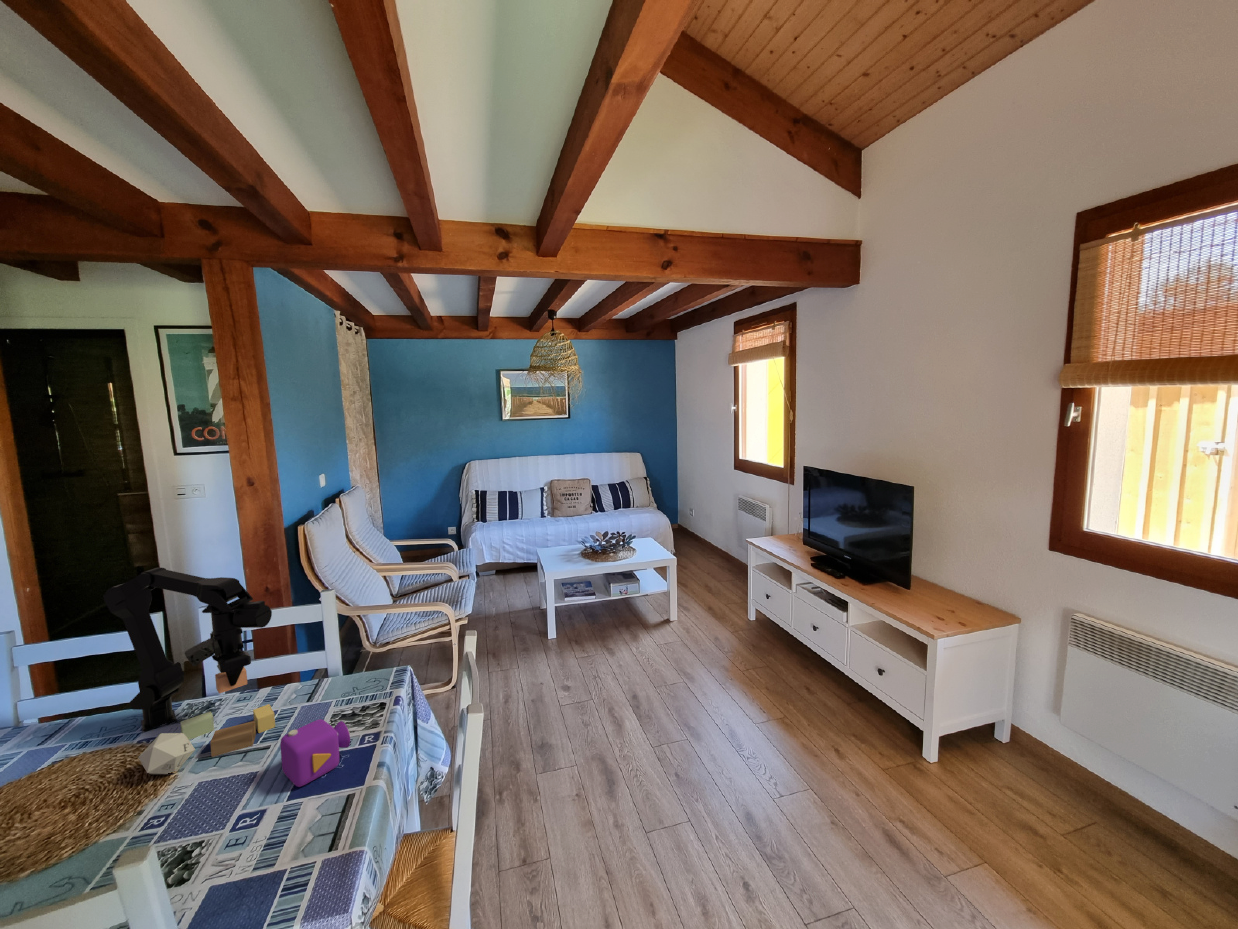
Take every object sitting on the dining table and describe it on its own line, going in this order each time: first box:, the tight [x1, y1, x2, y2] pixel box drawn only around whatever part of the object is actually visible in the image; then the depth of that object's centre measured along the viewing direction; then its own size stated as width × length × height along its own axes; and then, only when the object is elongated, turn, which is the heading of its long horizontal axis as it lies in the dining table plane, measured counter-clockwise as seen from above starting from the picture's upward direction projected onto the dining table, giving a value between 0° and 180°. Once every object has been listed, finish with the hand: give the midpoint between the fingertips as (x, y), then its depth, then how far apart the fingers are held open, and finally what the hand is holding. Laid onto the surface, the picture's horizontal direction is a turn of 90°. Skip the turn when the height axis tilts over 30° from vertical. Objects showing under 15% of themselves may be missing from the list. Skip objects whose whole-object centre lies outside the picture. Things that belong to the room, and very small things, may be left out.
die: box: [138, 732, 196, 775], centre depth 111 cm, size 8×9×10 cm
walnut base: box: [209, 720, 257, 758], centre depth 119 cm, size 5×8×4 cm, turn 120°
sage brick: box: [179, 710, 215, 741], centre depth 124 cm, size 4×6×4 cm, turn 139°
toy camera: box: [279, 718, 351, 788], centre depth 112 cm, size 11×14×10 cm
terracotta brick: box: [214, 666, 248, 694], centre depth 128 cm, size 4×6×4 cm, turn 139°
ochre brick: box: [252, 703, 276, 734], centre depth 127 cm, size 4×6×4 cm, turn 47°
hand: (231, 682), depth 128 cm, fingers closed on terracotta brick, 4 cm apart
